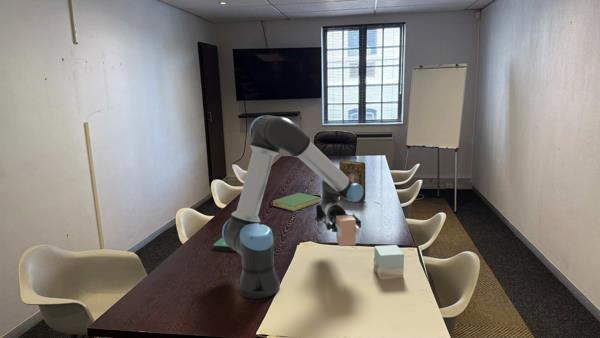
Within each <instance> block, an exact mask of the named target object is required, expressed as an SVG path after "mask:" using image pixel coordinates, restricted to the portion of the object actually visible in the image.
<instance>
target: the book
mask: <svg viewBox="0 0 600 338" xmlns="http://www.w3.org/2000/svg"><path fill="white" fill-rule="evenodd" d="M338 166H339V167H338V168H339V169H340V170H341V171H342V172H343V173H344V174H345V175H346V176H347V177H348V178H349V179H350V180H351V181H352V182H354V183H357V184H360V185H361V186H362V188H363V196H362V198H361V199H360V200H359V201H356V202H354V201H349V200H347V199H344V198H341V197H339V201H344V202H353V203H362V202H364V201H365V200H366V162H363V161H351V160H340V161H339V164H338Z"/></svg>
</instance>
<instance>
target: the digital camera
mask: <svg viewBox="0 0 600 338" xmlns="http://www.w3.org/2000/svg"><path fill="white" fill-rule="evenodd" d="M315 208H316V217H317V218H319V219H323V216H326V214H325V213H324V211H323V210H322V208H321V203H320V204H316V205H315ZM326 217H327V216H326Z"/></svg>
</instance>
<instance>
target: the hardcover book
mask: <svg viewBox="0 0 600 338" xmlns="http://www.w3.org/2000/svg"><path fill="white" fill-rule="evenodd" d="M271 202H272V205H271V206H273V207H277V208H281V209H284V210H288V211H291V212H295V211H298V210H301V209H304V208H307V207H310V206H313V205H315V204H316V205H317V204H318V203H321V200H320V196H316V195H312V194H306V193H302V192H296V193H294V194H289V195H287V196H283V197H280V198H276V199H274V200H272V201H271Z"/></svg>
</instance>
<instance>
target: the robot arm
mask: <svg viewBox="0 0 600 338" xmlns="http://www.w3.org/2000/svg"><path fill="white" fill-rule="evenodd" d="M248 134H249V136H250V139H251V141H250V144H249V146H250V149H251V151H252V152H251V156H250V160H249V163H248V167H247V171H246V173H245V174H246V175H245V179H244V181H243V185H242V189H241V193H240V197H239V201H238V203H237V207H236V210H235V211H233V212H231V215H230V217H229V219H228V220H227V221H226V222H225V223H224V224H223V226H222V231H221V235H222V238H223V239H224V241H225V242H226V244H227V245H228V246H229V247H230V248H232V249H233V250H235V251H234V252H236V253H238V254H239V255H240V256H241V266H242V267H241V270H242V271H241V273H240V274H241V275H240V280H239V281H238V291H239V294H240V295H241V296H243V297H245V298H247V299H248V298H249V299H252V300H253V299H266V298H269V297H271V296H274V295H275V294H277V293H278V292H279V291H280V288H281V287H280V286H281V284H280V278H279V277H278V273H277V271H276V268H275V257H274V256H275V255H274V251H275V250H274V234H273V231H272V228H270V227H269V226H267V225H266V224H262V223H261V218H260V217H259V213H260V209H261V205H262V201H263V198H264V195H265V191H266V187H267V183H268V179H269V176H270V173H271V168H272V165H273V161H274V158H275V157H276V156H277V155H280V154H279V153H280V150H283V151H285V152H287V153H289V154H290V156H292V157H293V158H298V159H299V160H301V162H303V163H304V164H305V165H306V166H307V167H308V168H309V169H311V171H313V172H314V173H315V174H316V175H317V176H319V177H320V178H321V192H322V193H321V200H320V204H321V208H322V210H323V211H324V213H325V214H326V216H327V217H326V216H323V218H322V223H324V225H325V227H326V230H327V231H330V230H331V232H332V233H336V232H337V234H338V235H339V237H341V228H340V227H339V226H338V224H336V216H342V215H349V214H347V212H346V211H345V209H344V207H343V206H342V205H341V204H340V197H341V198H344V199H347V200H349V201H348V202H351V201H354V202H353V203H357V202H356V201H359V200H360V199H361V198H362V196H363V188H362V186H361V185H360V184H357V183H354V182H352V181H351V180H350V179H349V178H348V177H347V176H346V175H345V174H344V173H343V172H342V171H341V170H340V169H339V167H338V166H337V165H335V163H333V161H332V160H330V159H329V158H328V156H326V155H325V154H324V153H323V152H322V151H321V150H320V149H319V148H318V147H317V146H316V145H315V144H313V142H312V139H311V137H310V136H309V135H308V134H307V133H306V132H305V131H304V130H303V129H302V128H301V127H300V126H299V125H298V124H296V123H295V122H294V121H292V120H291V119H289V118H287V117H284V116H276V115H275V116H274V115H261V116H258V117H256V118H255V119H254V120H253V121H252V123H251V124H250V127H249V133H248ZM351 215H352V216H353V217H354V218H355V220H356V236H360V229H361V228H362V221H361V219H359V218H358V217H357V216H356V214H355V213H352V214H351Z"/></svg>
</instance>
